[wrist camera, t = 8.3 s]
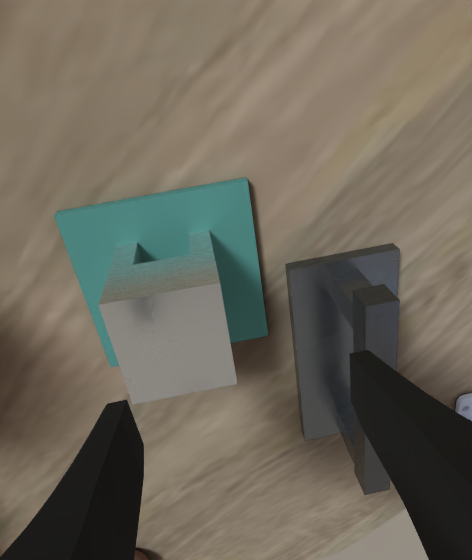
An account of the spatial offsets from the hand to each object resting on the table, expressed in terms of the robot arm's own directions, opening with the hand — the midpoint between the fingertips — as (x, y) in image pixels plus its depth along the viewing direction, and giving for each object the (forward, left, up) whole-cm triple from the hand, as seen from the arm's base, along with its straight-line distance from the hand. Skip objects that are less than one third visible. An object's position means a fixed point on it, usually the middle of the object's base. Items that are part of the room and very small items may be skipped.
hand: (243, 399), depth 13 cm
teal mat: (0, +2, -10) cm, 10 cm away
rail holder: (-7, -7, -10) cm, 14 cm away
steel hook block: (0, +2, -9) cm, 9 cm away
